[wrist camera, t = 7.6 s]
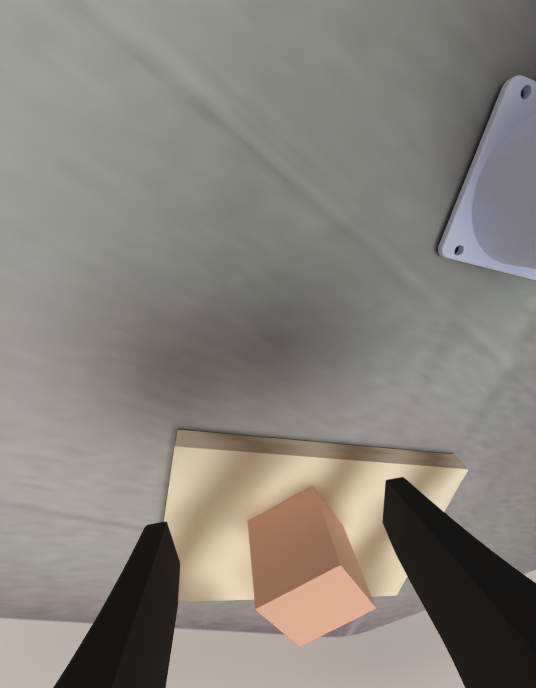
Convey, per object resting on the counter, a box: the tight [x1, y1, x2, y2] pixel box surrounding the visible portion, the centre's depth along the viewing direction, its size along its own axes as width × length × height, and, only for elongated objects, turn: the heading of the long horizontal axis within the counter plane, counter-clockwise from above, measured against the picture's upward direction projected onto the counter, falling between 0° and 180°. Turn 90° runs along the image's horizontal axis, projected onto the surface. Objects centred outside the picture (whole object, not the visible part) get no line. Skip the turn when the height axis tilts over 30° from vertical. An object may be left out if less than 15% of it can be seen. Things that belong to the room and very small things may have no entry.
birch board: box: [164, 430, 468, 602], centre depth 22 cm, size 20×14×2 cm
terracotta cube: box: [247, 485, 376, 646], centre depth 19 cm, size 5×5×5 cm
